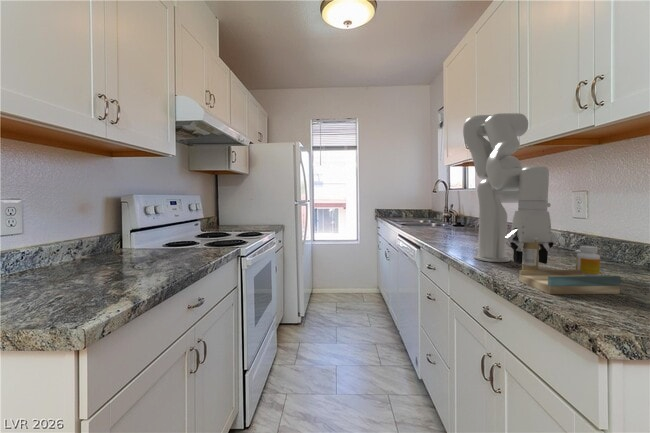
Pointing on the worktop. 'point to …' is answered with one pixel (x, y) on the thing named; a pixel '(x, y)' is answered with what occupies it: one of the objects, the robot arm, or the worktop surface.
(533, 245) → the sprinkles bottle
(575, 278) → the shelf board
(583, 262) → the supplement bottle
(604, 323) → the worktop surface
